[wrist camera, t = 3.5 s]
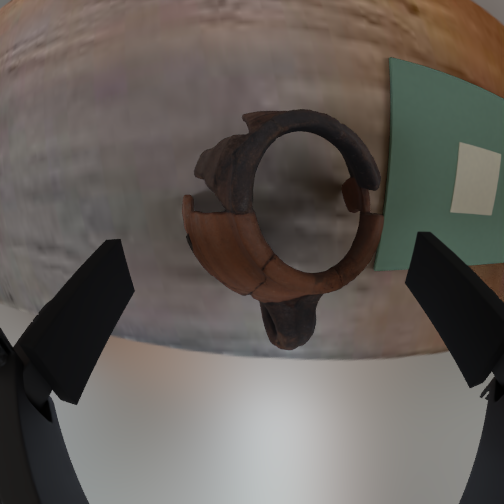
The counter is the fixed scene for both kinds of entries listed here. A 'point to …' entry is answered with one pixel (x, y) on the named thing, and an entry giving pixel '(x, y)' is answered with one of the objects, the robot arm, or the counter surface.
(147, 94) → the counter surface
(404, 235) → the centre mat
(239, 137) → the broken pottery ring
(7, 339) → the robot arm
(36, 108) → the counter surface
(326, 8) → the counter surface
